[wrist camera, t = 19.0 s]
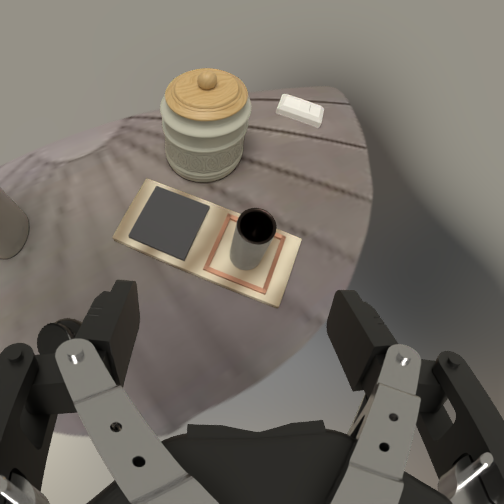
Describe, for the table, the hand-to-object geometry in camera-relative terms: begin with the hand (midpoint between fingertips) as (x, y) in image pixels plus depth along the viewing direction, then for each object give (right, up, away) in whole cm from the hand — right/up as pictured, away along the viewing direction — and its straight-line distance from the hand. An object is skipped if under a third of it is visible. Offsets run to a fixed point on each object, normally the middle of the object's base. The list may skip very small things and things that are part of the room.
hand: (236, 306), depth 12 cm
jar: (-8, +19, +39) cm, 44 cm away
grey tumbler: (0, +2, +32) cm, 32 cm away
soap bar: (+10, +30, +46) cm, 56 cm away
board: (-6, +4, +33) cm, 34 cm away
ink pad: (-11, +6, +32) cm, 35 cm away
